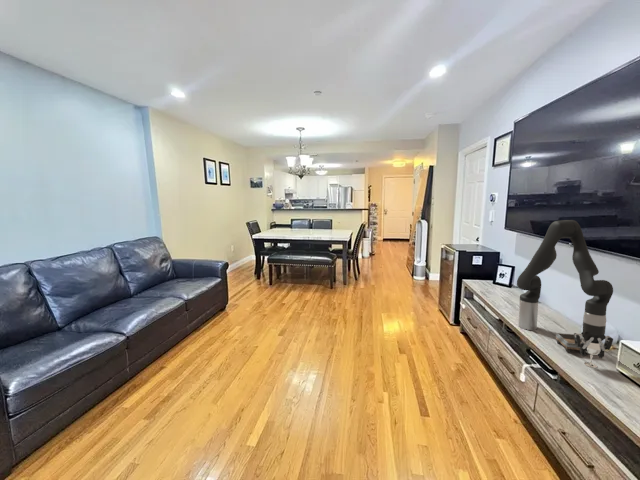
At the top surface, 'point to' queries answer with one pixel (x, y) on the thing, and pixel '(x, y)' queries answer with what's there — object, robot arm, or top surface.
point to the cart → (567, 341)
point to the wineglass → (592, 353)
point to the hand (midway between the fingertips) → (591, 356)
